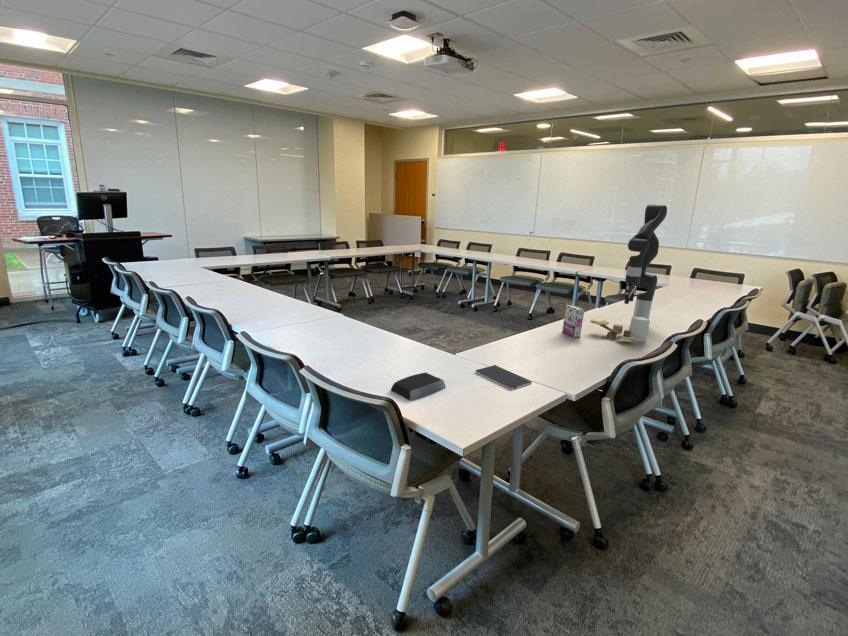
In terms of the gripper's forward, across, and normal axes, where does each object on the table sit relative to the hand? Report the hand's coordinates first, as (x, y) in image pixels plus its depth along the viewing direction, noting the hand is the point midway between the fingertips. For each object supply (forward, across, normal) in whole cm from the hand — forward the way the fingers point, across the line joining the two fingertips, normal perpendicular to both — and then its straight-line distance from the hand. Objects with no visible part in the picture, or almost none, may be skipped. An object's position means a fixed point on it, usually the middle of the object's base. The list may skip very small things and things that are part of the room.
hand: (628, 302), depth 258 cm
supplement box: (+20, +2, +8) cm, 22 cm away
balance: (+20, +10, -3) cm, 23 cm away
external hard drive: (+18, +144, -35) cm, 149 cm away
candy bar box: (+20, +23, -22) cm, 37 cm away
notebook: (+19, +109, -17) cm, 112 cm away
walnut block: (+20, -3, -4) cm, 21 cm away
